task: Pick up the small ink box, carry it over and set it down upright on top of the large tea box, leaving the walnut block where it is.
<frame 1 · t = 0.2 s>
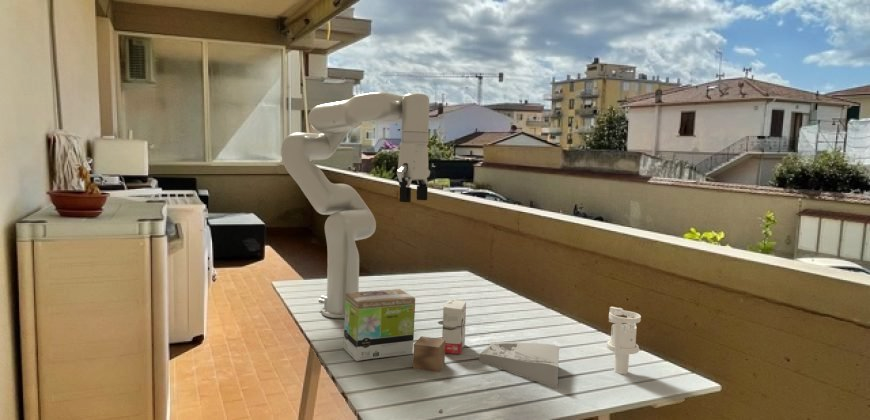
hand: (413, 201, 155), 36 cm above the table, tool pointing down, fingers open, 9 cm apart
ramp: (521, 368, 133), on the table
tea box: (378, 352, 139), on the table
walnut block: (429, 366, 131), on the table
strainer: (620, 372, 131), on the table
ink box: (453, 349, 143), on the table
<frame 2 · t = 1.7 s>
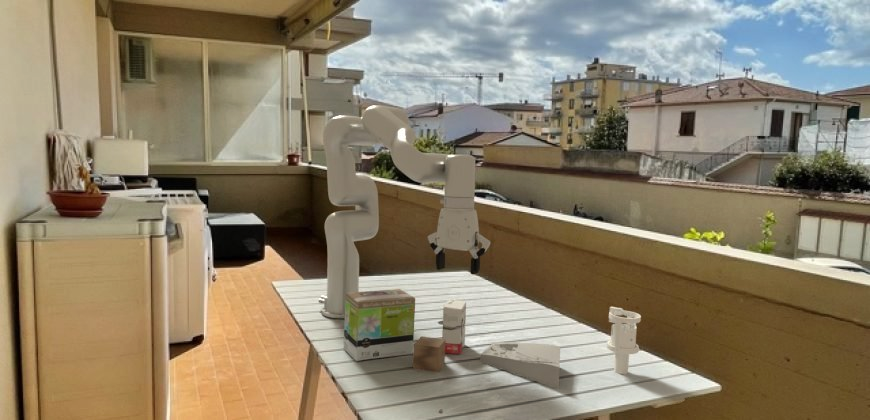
hand: (457, 271, 141), 20 cm above the table, tool pointing down, fingers open, 9 cm apart
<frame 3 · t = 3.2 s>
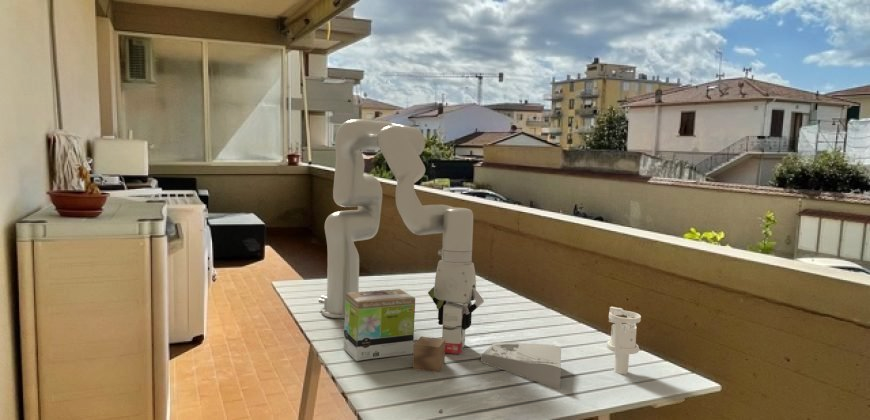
hand: (454, 325, 143), 6 cm above the table, tool pointing down, fingers closed on ink box, 6 cm apart
ink box: (453, 349, 143), on the table, touching gripper
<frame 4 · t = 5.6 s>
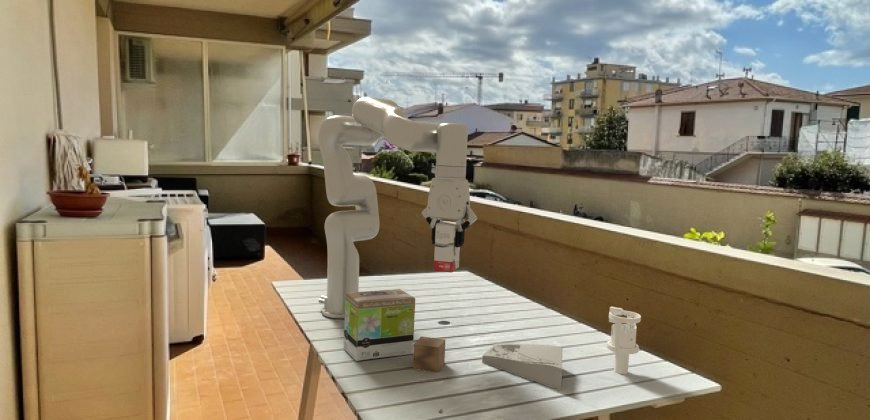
hand: (447, 244, 140), 27 cm above the table, tool pointing down, fingers closed on ink box, 5 cm apart
ink box: (446, 269, 141), point 20 cm above the table, touching gripper
when the fingers open (22 cm above the table, at t = 7.9 s): ink box drops 1 cm, resting on tea box.
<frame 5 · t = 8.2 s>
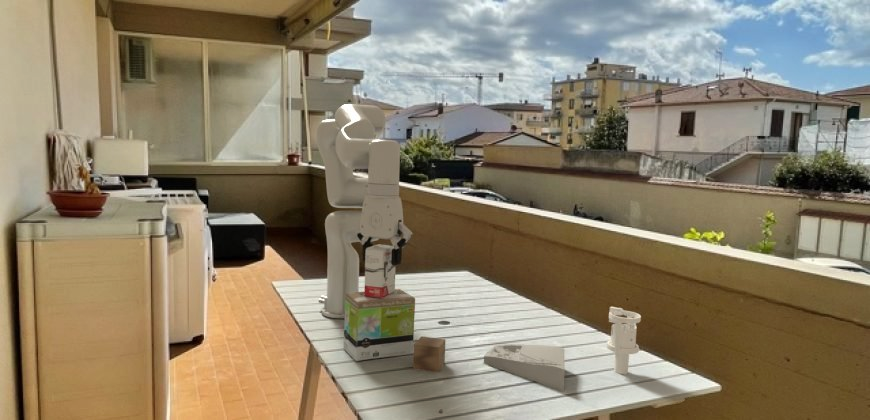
hand: (381, 261, 137), 23 cm above the table, tool pointing down, fingers open, 8 cm apart
tea box: (378, 352, 139), on the table, touching ink box
ink box: (379, 294, 138), point 14 cm above the table, touching tea box
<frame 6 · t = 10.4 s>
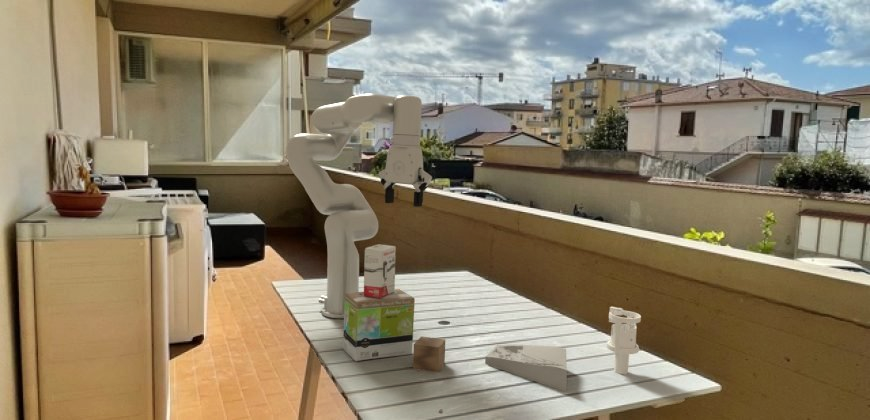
hand: (403, 204, 153), 36 cm above the table, tool pointing down, fingers open, 9 cm apart
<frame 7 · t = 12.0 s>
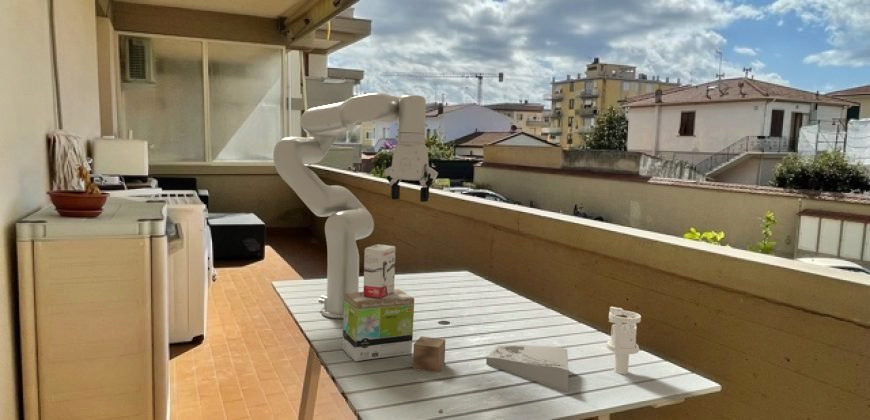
hand: (409, 200, 159), 36 cm above the table, tool pointing down, fingers open, 9 cm apart
at the end: ink box inside the target area on the tea box (0.2 cm from its centre), point 14.8 cm above the tea box's base; ink box tilted 0°; the gripper is holding nothing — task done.
